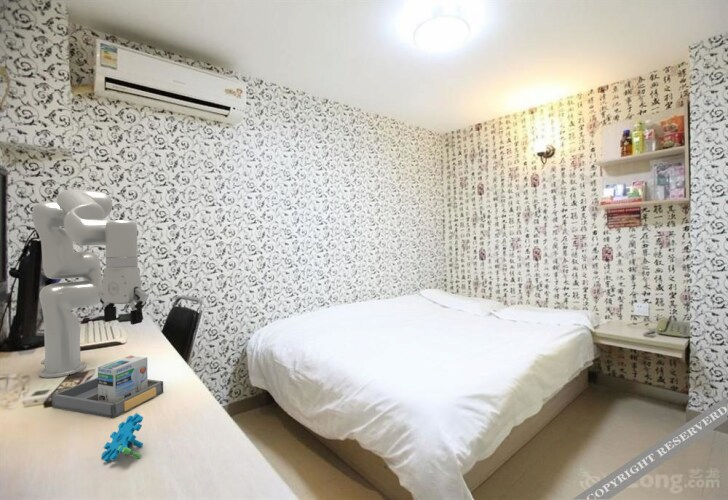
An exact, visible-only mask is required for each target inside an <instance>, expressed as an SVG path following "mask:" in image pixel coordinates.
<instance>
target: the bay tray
mask: <svg viewBox="0 0 728 500" xmlns="http://www.w3.org/2000/svg"><path fill="white" fill-rule="evenodd" d="M163 393H164V381H163V380H155V379H149V378H148V388H145V389H143V390H141V391H139V392H137V393H135V394H133V395H131V396H129V397H127V398H124V399H122V400H120V401H118V402H116V403H114V404H113V403H107V402H101V401H98V376H97V377H95V378H92V379H89V380H87V381H84V382H82V383H79V384H76V385H74V386H71V387H69V388H66V389H63V390H60V391H58V392H55V393H53V394H51V407H52V408H55V409H59V410H65V411H71V412H77V413H82V414H88V415H93V416H97V417H104V418H108V419H115V418H118V417H119V416H121V415H123V414H125V413H127V412H128V411H130V410H132V409H134V408H136V407H138V406H140V405H142V404H144V403H146V402H148V401H149V400H152V399H154V398H155V397H157V396H159V395H161V394H163Z"/></svg>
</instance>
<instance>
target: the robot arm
mask: <svg viewBox="0 0 728 500" xmlns="http://www.w3.org/2000/svg"><path fill="white" fill-rule="evenodd" d="M112 210H113V202H112V199H111V197H110V196H109V194H107V193H105V192H103V191H98V190H97V191H96V190H87V189H86V190H85V189H76V188H75V189H74V188H70V189H65V190H63V191H61V192H59V194H58V195H57V196H56V201H41V202H38V203H36V204H35V205H34V206H33V208H32V211H31V212H32V214H31V215H32V216H31V217H32V222H33V226H34V228H35V231H36V233H37V234H38V236H39V239H40V245H41V246H40V247H41V259H42V266H43V267H42V268H43V273H44V275H45V277H46V278H48V279H51V280H64V279H76V278H77V279H78V278H82V281H68V282H66V281H65V282H56V283H51V284H48V285H46V286H44V287H42V289H40V291H39V296H38V297H39V302H40V305H41V306H40V307H41V310H42V316H43V332H44V333H43V334H44V337H43V338H44V359H43V360H41V361H40V364H41V365H43V366H44V368H43V369H41V370H39V373H38V374H39V377H40V378H47V379H48V378H50V379H51V378H60V377H65V376H69V374H70V375H72V374H76V372H77V373H79V372H81V371H83V370H85V369H86V367H87V363H86V362H84V361H83V362H82V361H81V328H80V327H81V326H80V319H79V317H78V316H77V315H76V314H74V313H73V312H72V311H71V310H73V309H78V308H84V307H91V306H96V305H98V304H101V307H102V308H103V319H104V320H103V321H104V322H105V323H110V322H115V321H116V320H117V306H116V305H125V304H126V305H127V304H128V305H129V307H130V308H131V310H130V311H129V312H130V315H129V316H130V318H129V319H130V325H137V324H141V323H143V309H144V308H145V306H146V304H147V301H148V298H149V294H148V293H147V292H145V291H144V290H143V289H142V281H141V275H140V269H139V266H138V264H139V263H138V262H139V261H138V225H137V223H136V222H135V221H133V220H125V219H124V220H123V219H113V220H111V219H106V218H107V217H108V216H109V215H110V214H111V212H112ZM62 227H64V228H62ZM74 243H75V244H76V245H80V246H105V268H104V270H103V273H102V269H101V268H102V267H101V260H100V259H99V256H98V255H97V254H96V253H94V252H91V251H75V249H74Z"/></svg>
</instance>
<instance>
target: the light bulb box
mask: <svg viewBox="0 0 728 500" xmlns="http://www.w3.org/2000/svg"><path fill="white" fill-rule="evenodd" d="M97 377H98V401H101V402H107V403H113V404H114V403H116V402H118V401H120V400H122V399H124V398H127V397H129V396H131V395H133V394H135V393H137V392H139V391H141V390H143V389H145V388H148V379H149V378H148V357H147V356H146V357H145V356H139V355H138V356H137V355H128V356H125V357H122V358H120V359H117V360H114V361H111V362H108V363H105V364H103V365H100V366H97Z"/></svg>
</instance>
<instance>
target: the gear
mask: <svg viewBox="0 0 728 500" xmlns="http://www.w3.org/2000/svg"><path fill="white" fill-rule="evenodd" d="M143 420H144V417H143V416H142V415H141V414H139V413H137V412H135V413H134V415H128V416H127V418H126V420H125V421H122V422H120V423H119V424H118V427H117V428H118V429H117V432H116V431H115V430H114V431H113V432H111V434H110V435H109V438H111V439H112V440H111V442H109V441H107V442H106V443H105V444H104V446H103V449H104V451H102V454H101V458H102V459H103V461H104V462H105V463H109V462H110V461H111V460H113V461H116V460H117V459H118V458H119V455H120V453H121V454H124V457H127V458H129V457H130V456H132V457H133V458H136V459H138V460H139V459H141V457H142V455H141V454H140V453H139V452H138V453H137V452H136V451H135V448H134V446H135V447H137V448H139V449H140V448H142V447H143V445H144V442H142V441H140V440H137V439H136V438H137V435H135V434H134V433H135V431H137V432H139V431H140V430H141V429H142V427H143V425H142V424H141V423H142V422H143Z"/></svg>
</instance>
